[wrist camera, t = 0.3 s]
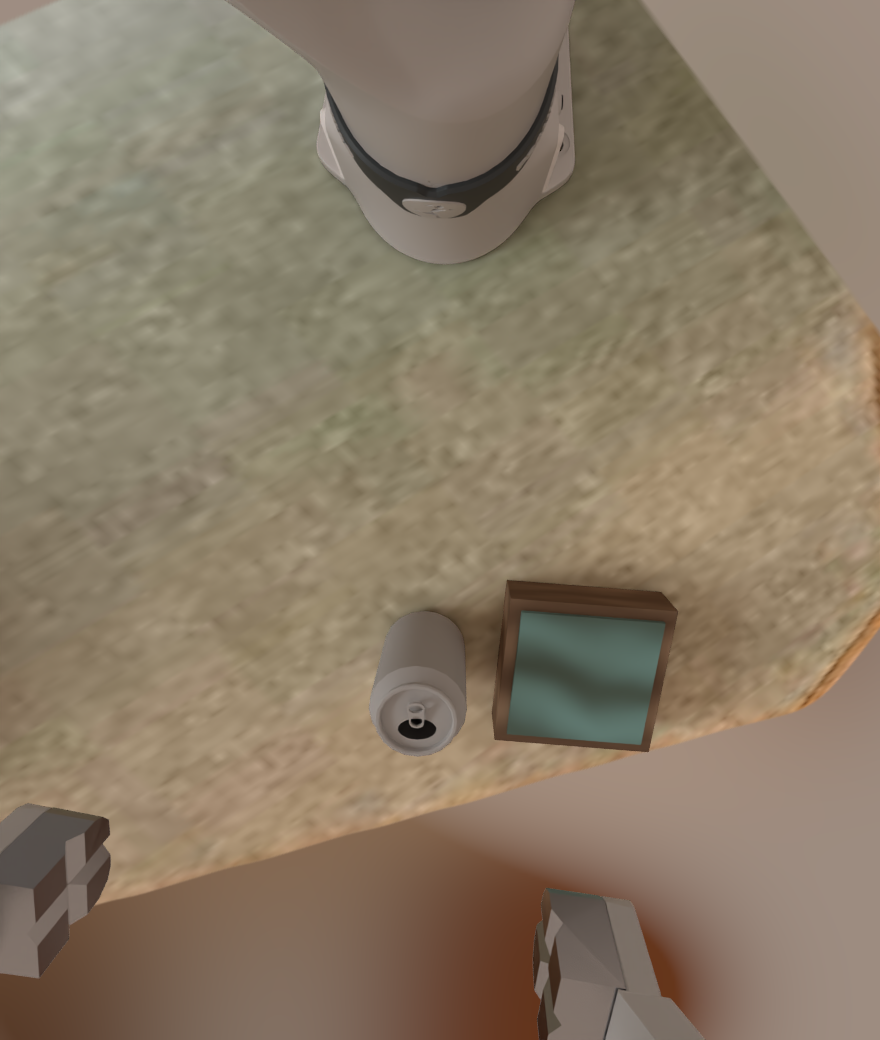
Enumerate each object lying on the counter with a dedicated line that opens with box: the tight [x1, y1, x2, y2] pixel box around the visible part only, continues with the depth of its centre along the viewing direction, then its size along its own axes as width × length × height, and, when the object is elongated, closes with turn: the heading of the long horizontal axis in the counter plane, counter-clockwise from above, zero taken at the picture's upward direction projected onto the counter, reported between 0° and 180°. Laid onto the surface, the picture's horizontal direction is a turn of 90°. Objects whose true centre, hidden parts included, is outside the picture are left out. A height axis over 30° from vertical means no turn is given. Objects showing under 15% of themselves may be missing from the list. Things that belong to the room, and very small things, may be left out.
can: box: [369, 611, 467, 756], centre depth 46 cm, size 8×8×12 cm
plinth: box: [492, 580, 678, 752], centre depth 50 cm, size 14×14×4 cm
